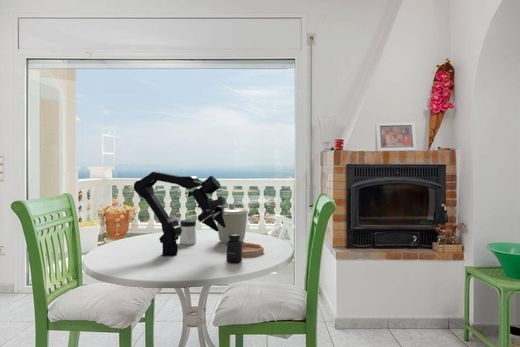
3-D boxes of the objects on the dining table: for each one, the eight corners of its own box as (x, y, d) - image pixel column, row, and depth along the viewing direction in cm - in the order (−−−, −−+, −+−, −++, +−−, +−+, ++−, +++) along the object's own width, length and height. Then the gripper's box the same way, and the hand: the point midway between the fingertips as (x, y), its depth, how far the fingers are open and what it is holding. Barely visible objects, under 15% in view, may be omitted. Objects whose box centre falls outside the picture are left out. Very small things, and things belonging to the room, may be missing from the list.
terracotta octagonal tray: (230, 257, 165) (230, 252, 165) (224, 249, 181) (224, 244, 181) (266, 255, 169) (266, 250, 169) (257, 247, 185) (257, 242, 185)
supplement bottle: (227, 264, 154) (227, 236, 154) (225, 260, 161) (225, 233, 160) (243, 263, 156) (243, 235, 155) (240, 259, 162) (240, 232, 162)
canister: (222, 237, 209) (222, 200, 208) (252, 239, 204) (252, 201, 203) (209, 244, 191) (209, 204, 190) (242, 246, 186) (242, 205, 186)
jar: (183, 245, 189) (182, 222, 188) (177, 242, 195) (177, 220, 195) (199, 243, 194) (199, 221, 193) (193, 240, 200) (192, 218, 200)
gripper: (208, 192, 155) (228, 222, 153) (223, 188, 173) (241, 216, 171) (188, 206, 157) (208, 236, 156) (205, 201, 175) (223, 229, 174)
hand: (221, 229), depth 164 cm, fingers open, 9 cm apart
